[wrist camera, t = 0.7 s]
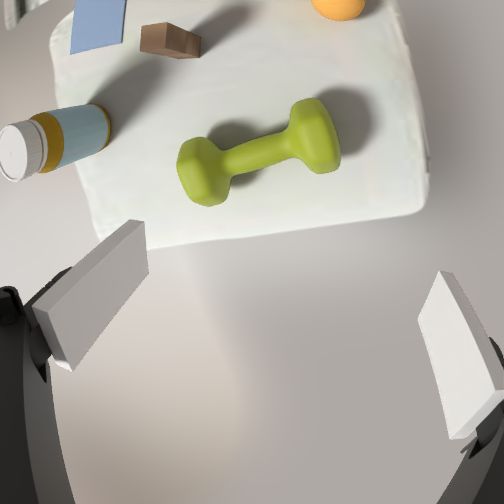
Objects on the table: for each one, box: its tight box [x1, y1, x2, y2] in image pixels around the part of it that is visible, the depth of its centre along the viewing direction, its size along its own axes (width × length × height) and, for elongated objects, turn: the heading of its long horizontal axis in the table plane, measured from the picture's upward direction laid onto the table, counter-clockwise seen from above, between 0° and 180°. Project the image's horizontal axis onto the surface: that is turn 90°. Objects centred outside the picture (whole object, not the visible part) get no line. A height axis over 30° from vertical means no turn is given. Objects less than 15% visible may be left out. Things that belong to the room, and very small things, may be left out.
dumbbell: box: [176, 98, 341, 207], centre depth 31 cm, size 16×8×7 cm, turn 110°
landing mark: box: [70, 0, 126, 55], centre depth 28 cm, size 9×9×1 cm
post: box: [140, 22, 201, 59], centre depth 26 cm, size 3×3×9 cm
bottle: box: [0, 104, 111, 182], centre depth 29 cm, size 7×7×15 cm
